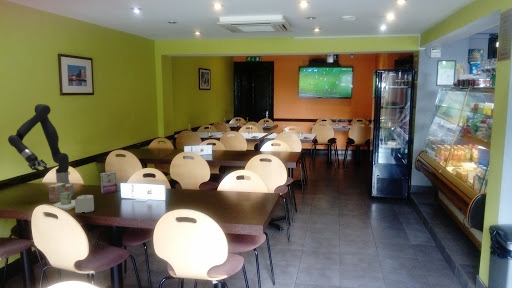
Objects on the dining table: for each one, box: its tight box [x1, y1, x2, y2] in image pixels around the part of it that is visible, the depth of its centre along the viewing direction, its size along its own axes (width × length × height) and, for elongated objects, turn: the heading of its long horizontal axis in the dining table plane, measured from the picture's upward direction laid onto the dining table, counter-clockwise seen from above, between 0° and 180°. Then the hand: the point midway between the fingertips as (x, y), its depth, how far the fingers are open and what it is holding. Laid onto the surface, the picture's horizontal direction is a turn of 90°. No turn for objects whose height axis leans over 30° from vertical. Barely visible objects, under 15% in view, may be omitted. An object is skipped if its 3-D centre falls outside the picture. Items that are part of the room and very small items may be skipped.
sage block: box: [60, 192, 72, 205], centre depth 307 cm, size 5×5×8 cm
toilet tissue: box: [74, 194, 95, 214], centre depth 293 cm, size 11×12×10 cm
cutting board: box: [53, 199, 75, 211], centre depth 307 cm, size 20×16×2 cm
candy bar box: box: [99, 171, 117, 195], centre depth 347 cm, size 11×5×16 cm, turn 129°
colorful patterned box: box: [47, 182, 75, 203], centre depth 328 cm, size 21×6×12 cm, turn 169°
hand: (44, 171), depth 313 cm, fingers open, 8 cm apart
